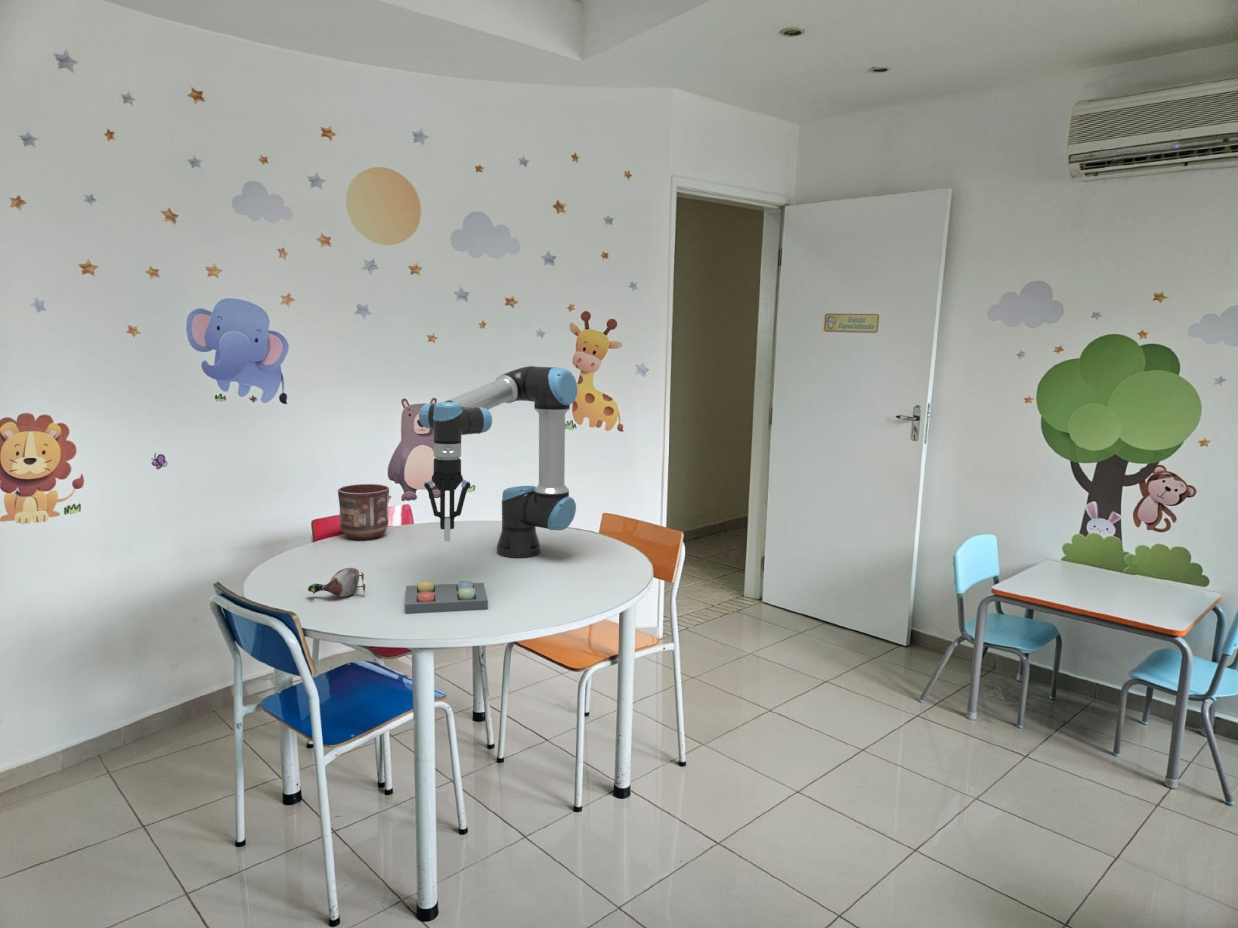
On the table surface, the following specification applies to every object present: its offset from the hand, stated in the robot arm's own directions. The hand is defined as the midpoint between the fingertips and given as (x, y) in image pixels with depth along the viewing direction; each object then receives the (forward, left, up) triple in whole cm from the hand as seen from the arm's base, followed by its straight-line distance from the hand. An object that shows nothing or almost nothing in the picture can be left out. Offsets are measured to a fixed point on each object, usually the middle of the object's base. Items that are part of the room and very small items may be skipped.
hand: (447, 540), depth 221 cm
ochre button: (+6, 0, -16) cm, 17 cm away
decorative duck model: (+30, -8, -17) cm, 35 cm away
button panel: (0, +4, -17) cm, 17 cm away
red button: (+6, +8, -16) cm, 19 cm away
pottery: (+27, -72, -17) cm, 79 cm away
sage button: (-5, +8, -16) cm, 18 cm away
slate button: (-5, 0, -16) cm, 17 cm away
